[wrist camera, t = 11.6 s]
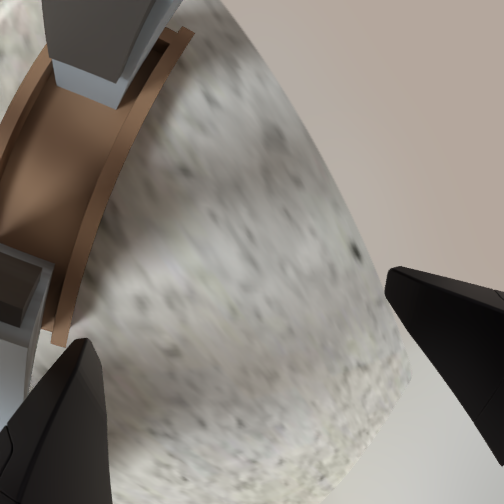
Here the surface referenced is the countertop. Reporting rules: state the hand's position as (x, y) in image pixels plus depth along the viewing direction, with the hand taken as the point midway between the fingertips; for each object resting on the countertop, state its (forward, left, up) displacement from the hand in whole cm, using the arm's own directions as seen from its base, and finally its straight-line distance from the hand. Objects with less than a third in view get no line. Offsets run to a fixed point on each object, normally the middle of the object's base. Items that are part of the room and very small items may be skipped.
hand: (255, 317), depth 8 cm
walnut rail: (+5, +7, -12) cm, 14 cm away
